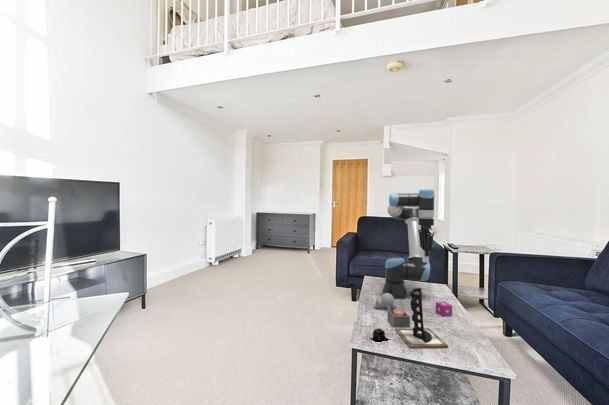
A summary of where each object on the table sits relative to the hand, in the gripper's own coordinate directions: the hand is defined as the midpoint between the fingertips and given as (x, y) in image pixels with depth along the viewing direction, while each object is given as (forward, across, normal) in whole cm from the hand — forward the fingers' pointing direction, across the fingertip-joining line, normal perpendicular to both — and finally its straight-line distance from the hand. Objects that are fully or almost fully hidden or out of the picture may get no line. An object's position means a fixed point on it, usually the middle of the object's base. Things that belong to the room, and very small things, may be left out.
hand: (425, 261), depth 142 cm
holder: (+27, +25, -15) cm, 40 cm away
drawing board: (+28, +25, -15) cm, 40 cm away
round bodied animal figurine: (+28, -8, -19) cm, 35 cm away
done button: (+25, +10, -19) cm, 33 cm away
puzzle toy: (+28, 0, +10) cm, 30 cm away
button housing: (+28, +10, -19) cm, 35 cm away
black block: (+29, +25, -33) cm, 51 cm away
